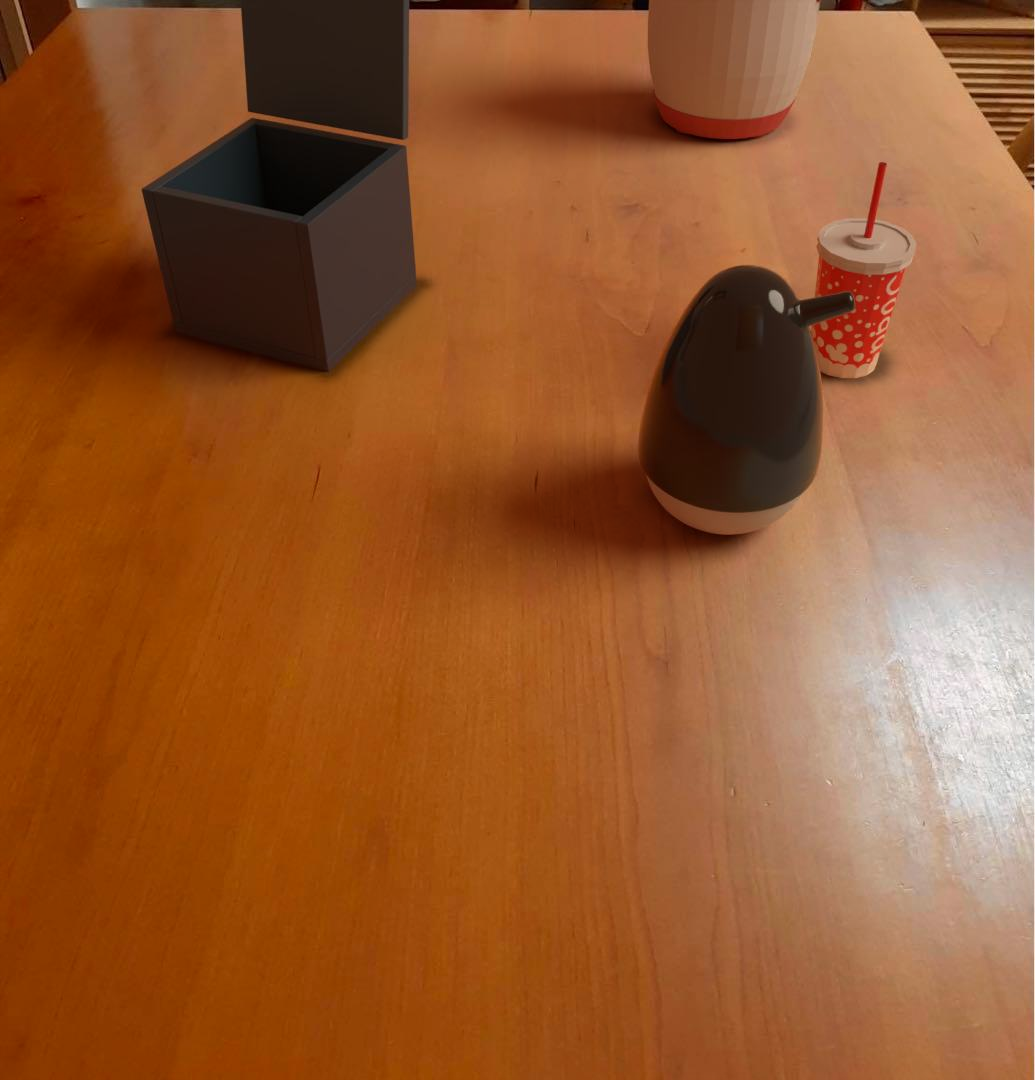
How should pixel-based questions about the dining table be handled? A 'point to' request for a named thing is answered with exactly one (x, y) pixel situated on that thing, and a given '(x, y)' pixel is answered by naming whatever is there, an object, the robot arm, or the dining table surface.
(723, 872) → the dining table surface
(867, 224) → the beverage cup
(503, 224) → the dining table surface
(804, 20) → the citrus juicer
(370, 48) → the lid
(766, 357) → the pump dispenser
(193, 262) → the box
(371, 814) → the dining table surface
